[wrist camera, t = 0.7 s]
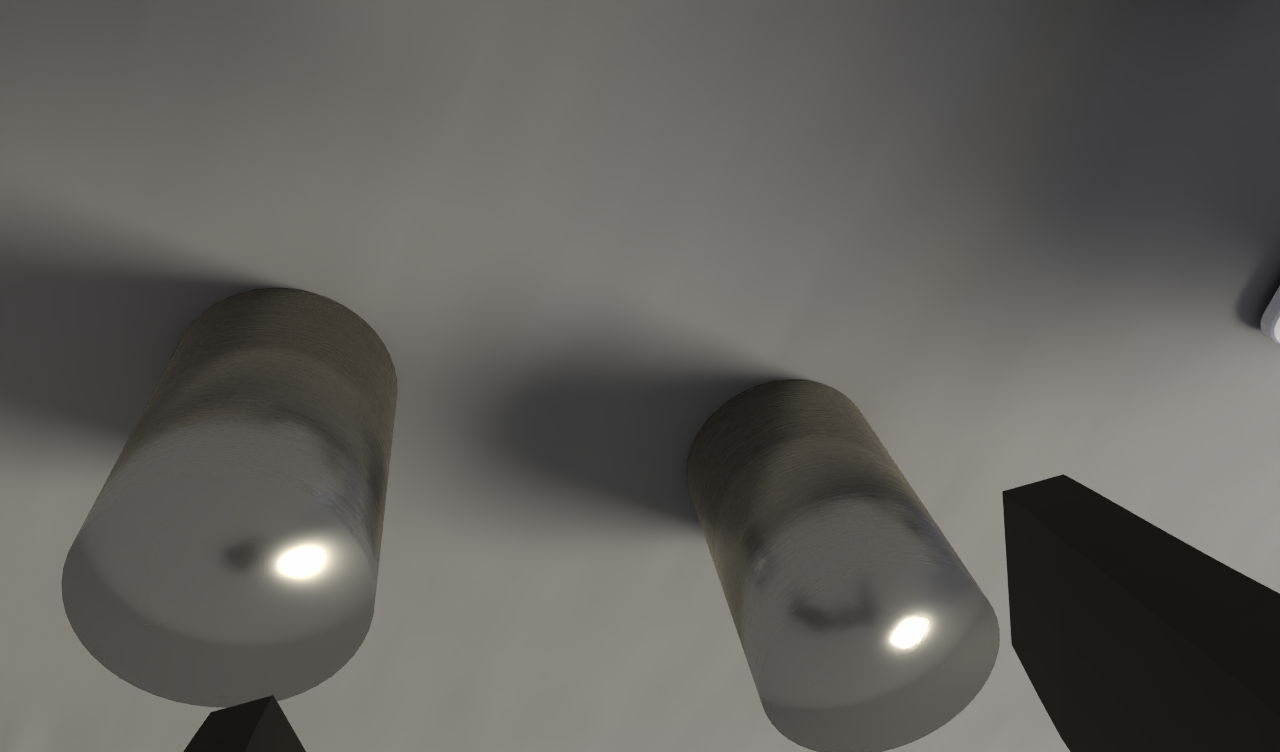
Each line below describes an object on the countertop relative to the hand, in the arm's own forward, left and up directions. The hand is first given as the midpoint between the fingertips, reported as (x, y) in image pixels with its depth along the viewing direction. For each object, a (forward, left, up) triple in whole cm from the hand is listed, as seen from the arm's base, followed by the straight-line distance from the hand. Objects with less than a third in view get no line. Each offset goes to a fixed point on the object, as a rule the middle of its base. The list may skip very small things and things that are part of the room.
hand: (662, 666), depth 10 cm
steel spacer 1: (+5, +3, -10) cm, 12 cm away
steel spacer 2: (-5, +3, -10) cm, 12 cm away
